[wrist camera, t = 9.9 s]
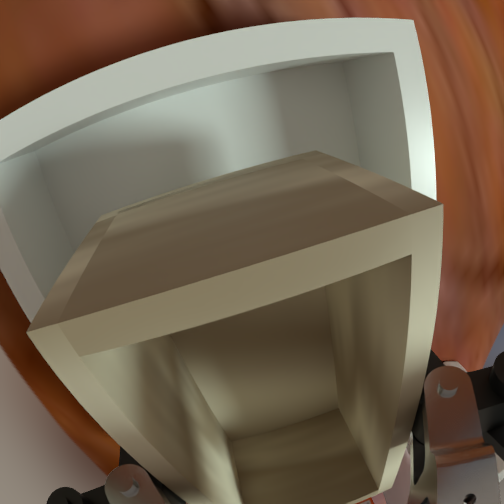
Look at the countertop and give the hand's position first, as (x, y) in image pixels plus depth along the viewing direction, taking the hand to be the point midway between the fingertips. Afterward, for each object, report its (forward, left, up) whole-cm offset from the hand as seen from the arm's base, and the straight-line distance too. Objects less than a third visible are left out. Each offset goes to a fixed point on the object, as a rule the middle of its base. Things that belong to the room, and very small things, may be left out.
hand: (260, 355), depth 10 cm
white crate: (0, 0, -4) cm, 4 cm away
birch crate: (0, 0, -1) cm, 1 cm away
